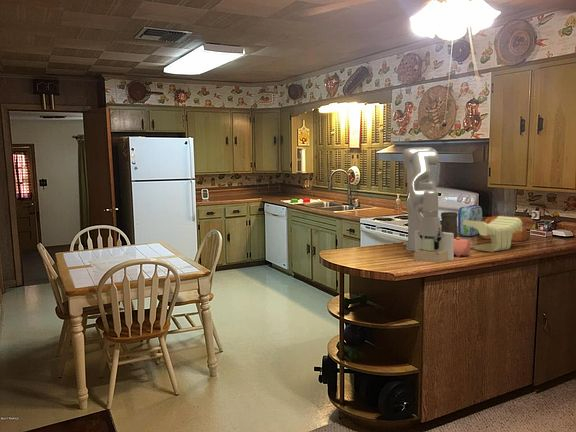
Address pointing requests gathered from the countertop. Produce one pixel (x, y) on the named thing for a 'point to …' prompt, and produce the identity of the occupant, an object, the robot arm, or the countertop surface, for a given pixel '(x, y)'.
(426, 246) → the cabinet box
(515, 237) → the bread
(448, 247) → the beige slab with panel
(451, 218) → the beer stein
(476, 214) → the lunch box
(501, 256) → the countertop surface
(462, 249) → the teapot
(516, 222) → the slatted curved stool
